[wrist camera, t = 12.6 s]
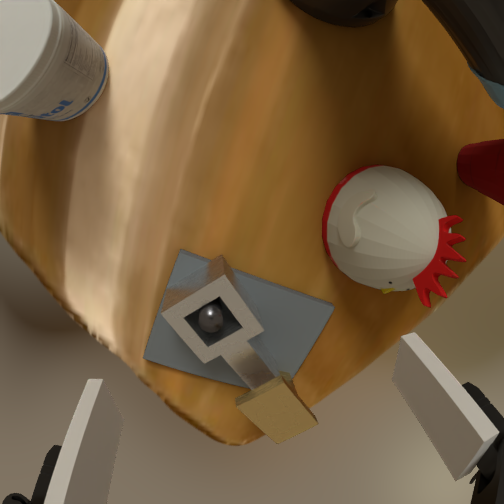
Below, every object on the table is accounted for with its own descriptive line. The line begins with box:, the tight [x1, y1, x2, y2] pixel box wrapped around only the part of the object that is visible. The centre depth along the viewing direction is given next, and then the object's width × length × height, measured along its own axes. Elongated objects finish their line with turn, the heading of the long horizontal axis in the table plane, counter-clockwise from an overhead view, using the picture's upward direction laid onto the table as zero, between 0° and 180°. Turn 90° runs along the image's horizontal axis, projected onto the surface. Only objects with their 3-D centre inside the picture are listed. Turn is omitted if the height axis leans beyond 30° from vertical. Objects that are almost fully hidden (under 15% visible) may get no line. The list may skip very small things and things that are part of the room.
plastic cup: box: [457, 139, 504, 205], centre depth 29 cm, size 11×11×12 cm
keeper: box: [235, 371, 318, 444], centre depth 33 cm, size 5×9×9 cm, turn 31°
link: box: [161, 254, 280, 390], centre depth 33 cm, size 15×7×6 cm, turn 31°
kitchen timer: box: [322, 165, 466, 308], centre depth 28 cm, size 14×14×15 cm
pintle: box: [199, 296, 223, 333], centre depth 31 cm, size 2×2×6 cm
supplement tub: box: [0, 0, 109, 121], centre depth 19 cm, size 10×10×15 cm
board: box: [143, 249, 335, 388], centre depth 37 cm, size 14×19×1 cm
